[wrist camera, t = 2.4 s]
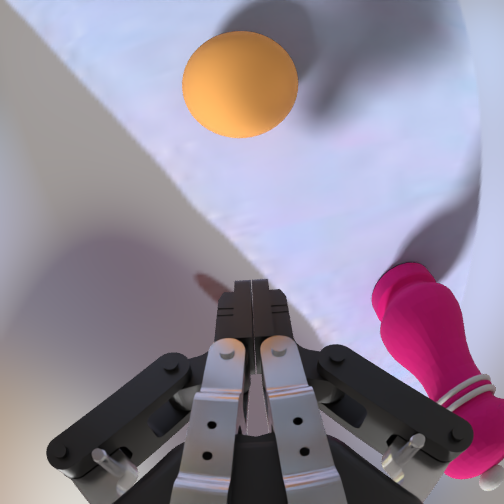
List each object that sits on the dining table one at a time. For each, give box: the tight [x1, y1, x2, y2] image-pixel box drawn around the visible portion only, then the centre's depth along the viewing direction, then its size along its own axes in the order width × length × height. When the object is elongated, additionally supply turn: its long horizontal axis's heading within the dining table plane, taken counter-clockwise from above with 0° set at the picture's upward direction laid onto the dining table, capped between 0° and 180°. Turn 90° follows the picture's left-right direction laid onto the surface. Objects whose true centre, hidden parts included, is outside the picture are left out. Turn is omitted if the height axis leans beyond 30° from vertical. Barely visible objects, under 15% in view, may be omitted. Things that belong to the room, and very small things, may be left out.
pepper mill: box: [372, 263, 504, 491], centre depth 16 cm, size 7×7×20 cm
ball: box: [182, 31, 298, 138], centre depth 14 cm, size 6×6×6 cm
